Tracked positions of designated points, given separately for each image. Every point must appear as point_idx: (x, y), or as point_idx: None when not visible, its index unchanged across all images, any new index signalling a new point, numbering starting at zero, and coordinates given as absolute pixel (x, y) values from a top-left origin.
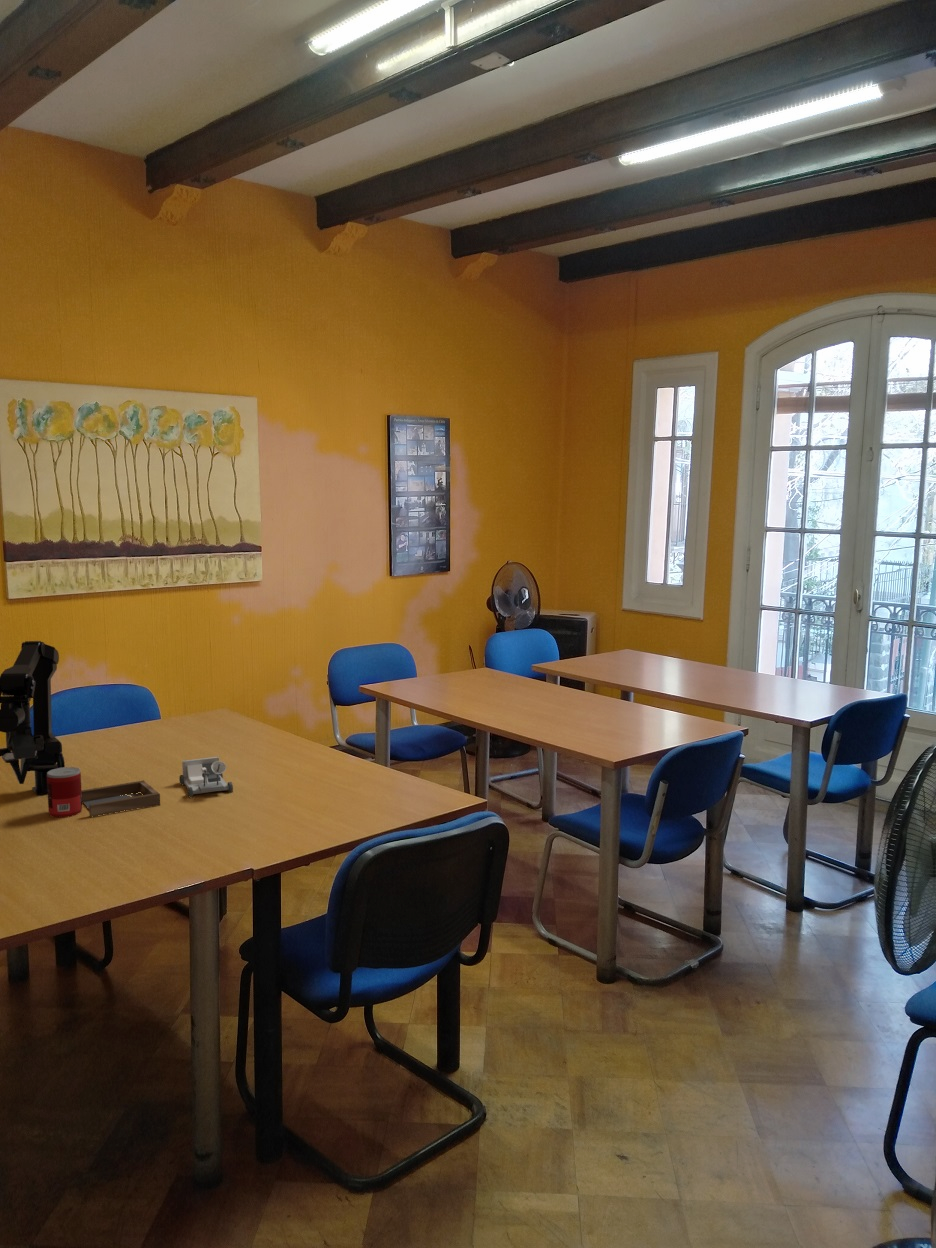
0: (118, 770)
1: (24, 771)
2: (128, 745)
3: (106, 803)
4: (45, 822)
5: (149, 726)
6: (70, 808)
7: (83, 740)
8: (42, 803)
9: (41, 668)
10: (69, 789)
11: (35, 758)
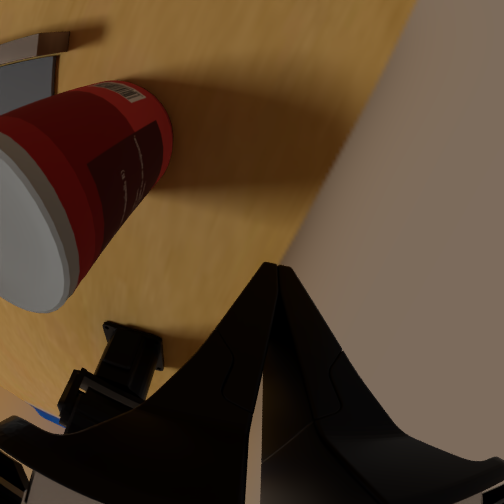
0: (21, 333)
1: (249, 336)
2: (34, 385)
3: (1, 44)
4: (220, 69)
5: (29, 399)
6: (96, 83)
7: None
8: (161, 280)
9: None
10: (34, 102)
11: (16, 433)
